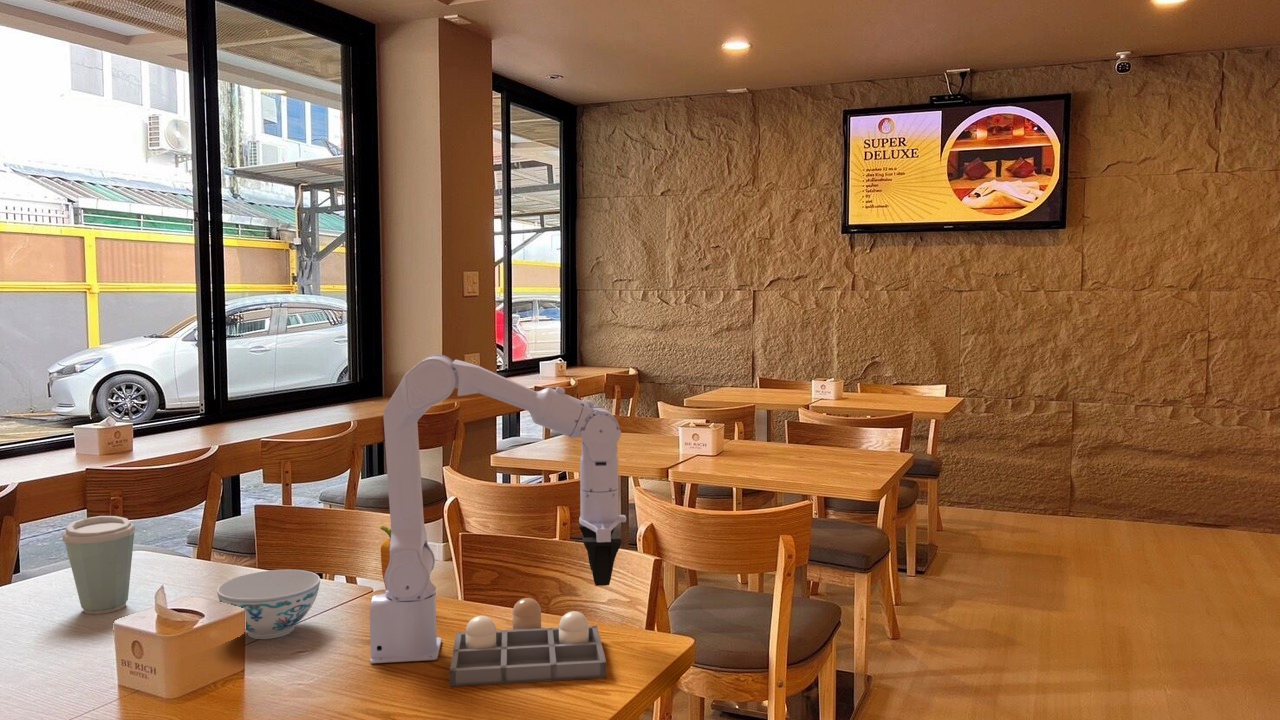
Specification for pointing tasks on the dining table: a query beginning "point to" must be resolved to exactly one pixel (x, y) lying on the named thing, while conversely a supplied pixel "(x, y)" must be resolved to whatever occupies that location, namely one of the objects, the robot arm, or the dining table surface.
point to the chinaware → (271, 599)
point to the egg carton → (527, 653)
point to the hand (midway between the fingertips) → (599, 577)
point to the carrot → (385, 552)
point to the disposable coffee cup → (101, 561)
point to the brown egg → (526, 614)
